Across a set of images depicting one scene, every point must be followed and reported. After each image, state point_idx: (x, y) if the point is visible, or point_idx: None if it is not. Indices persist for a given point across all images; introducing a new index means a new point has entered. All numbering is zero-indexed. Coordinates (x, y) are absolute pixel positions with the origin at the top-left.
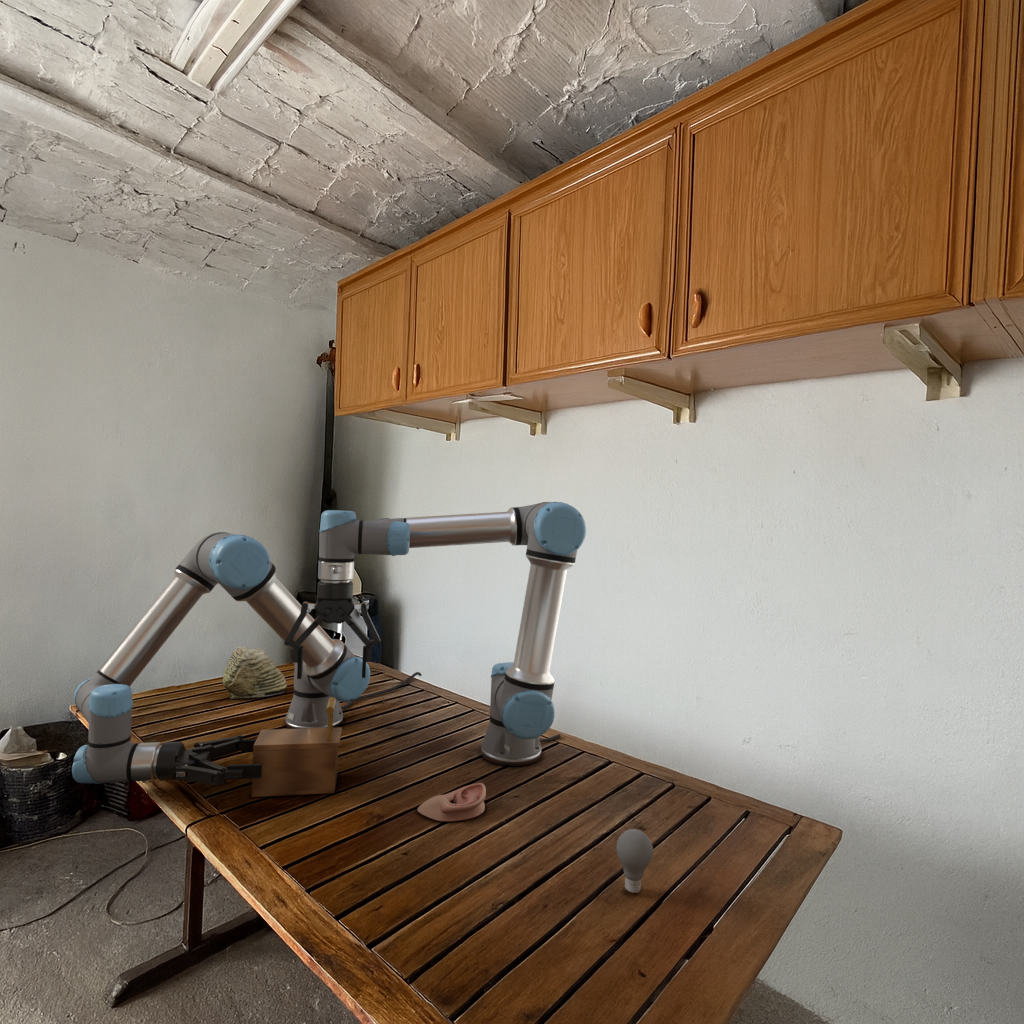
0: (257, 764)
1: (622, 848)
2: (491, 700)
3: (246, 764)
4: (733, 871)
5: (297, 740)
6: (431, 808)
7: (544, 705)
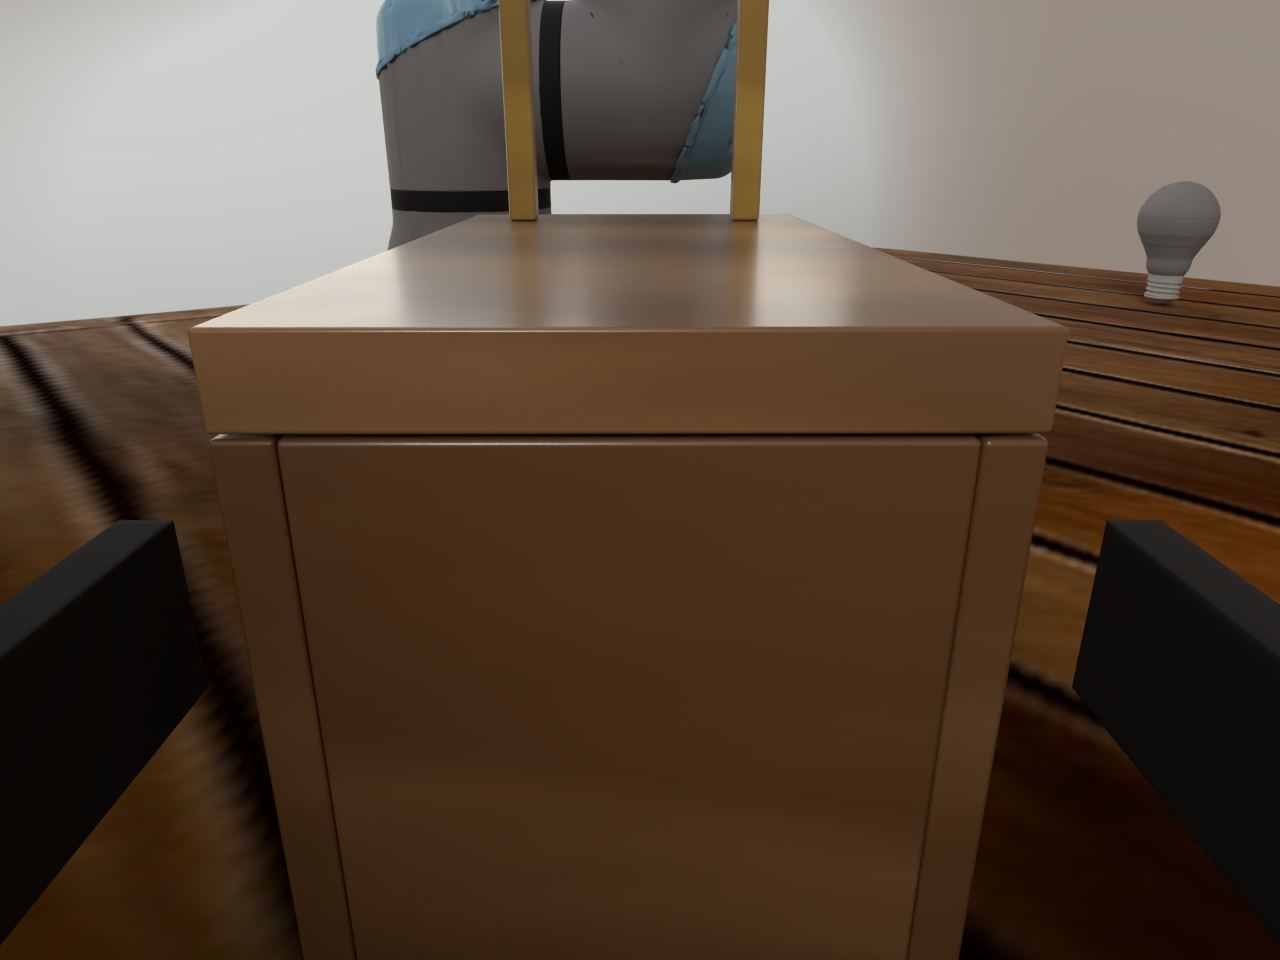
0: (1172, 543)
1: (1212, 210)
2: (461, 127)
3: (1266, 632)
4: (1025, 274)
5: (766, 244)
6: None
7: None
